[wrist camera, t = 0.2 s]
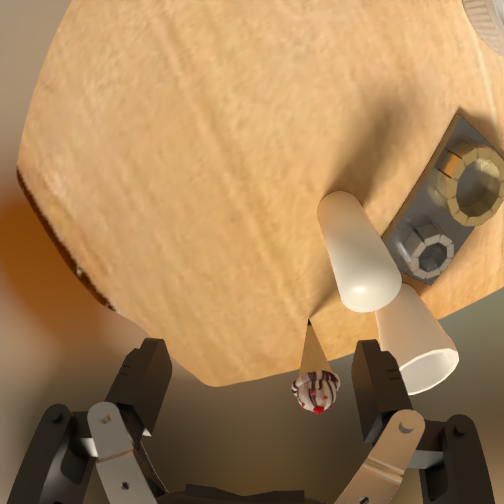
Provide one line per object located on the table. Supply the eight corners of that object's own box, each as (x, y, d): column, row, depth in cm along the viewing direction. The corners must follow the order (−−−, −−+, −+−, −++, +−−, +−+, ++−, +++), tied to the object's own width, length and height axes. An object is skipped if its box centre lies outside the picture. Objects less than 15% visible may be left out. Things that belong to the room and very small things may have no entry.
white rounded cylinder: (330, 183, 31) (364, 251, 20) (368, 202, 32) (413, 274, 21) (308, 221, 33) (327, 301, 22) (346, 237, 34) (376, 318, 23)
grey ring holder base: (455, 114, 25) (473, 120, 22) (505, 163, 27) (522, 174, 24) (370, 253, 35) (378, 271, 32) (427, 280, 37) (437, 297, 34)
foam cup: (385, 331, 43) (406, 402, 32) (351, 304, 40) (371, 383, 29) (433, 296, 39) (467, 364, 28) (405, 262, 36) (444, 337, 25)
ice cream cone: (331, 327, 42) (346, 418, 30) (294, 336, 44) (299, 427, 31) (324, 300, 40) (341, 398, 27) (283, 310, 41) (287, 408, 28)
